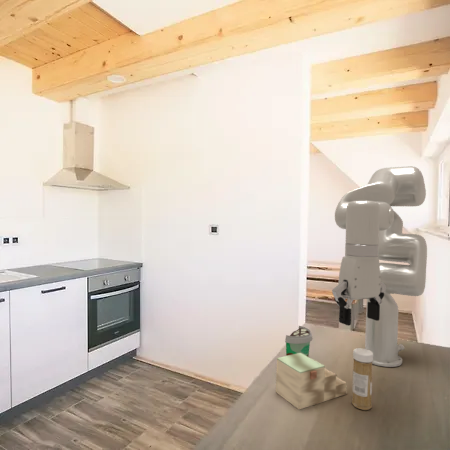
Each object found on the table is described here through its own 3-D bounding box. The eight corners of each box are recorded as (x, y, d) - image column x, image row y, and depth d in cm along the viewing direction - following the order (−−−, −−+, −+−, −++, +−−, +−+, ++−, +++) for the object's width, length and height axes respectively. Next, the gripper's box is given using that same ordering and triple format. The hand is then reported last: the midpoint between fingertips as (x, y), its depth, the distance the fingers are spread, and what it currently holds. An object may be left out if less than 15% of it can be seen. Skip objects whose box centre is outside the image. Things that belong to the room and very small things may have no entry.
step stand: (320, 379, 96) (321, 347, 96) (347, 394, 88) (348, 360, 88) (275, 392, 88) (276, 358, 88) (300, 410, 80) (301, 373, 80)
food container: (304, 373, 99) (305, 339, 99) (284, 368, 103) (285, 335, 102) (316, 359, 110) (317, 328, 110) (298, 354, 113) (299, 325, 113)
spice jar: (375, 407, 82) (377, 352, 82) (364, 412, 80) (365, 356, 79) (358, 398, 86) (360, 346, 86) (347, 403, 84) (349, 349, 83)
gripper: (373, 249, 90) (371, 313, 90) (323, 250, 82) (321, 321, 82) (398, 252, 83) (396, 321, 83) (347, 254, 75) (345, 330, 75)
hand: (359, 321), depth 83 cm, fingers open, 9 cm apart
